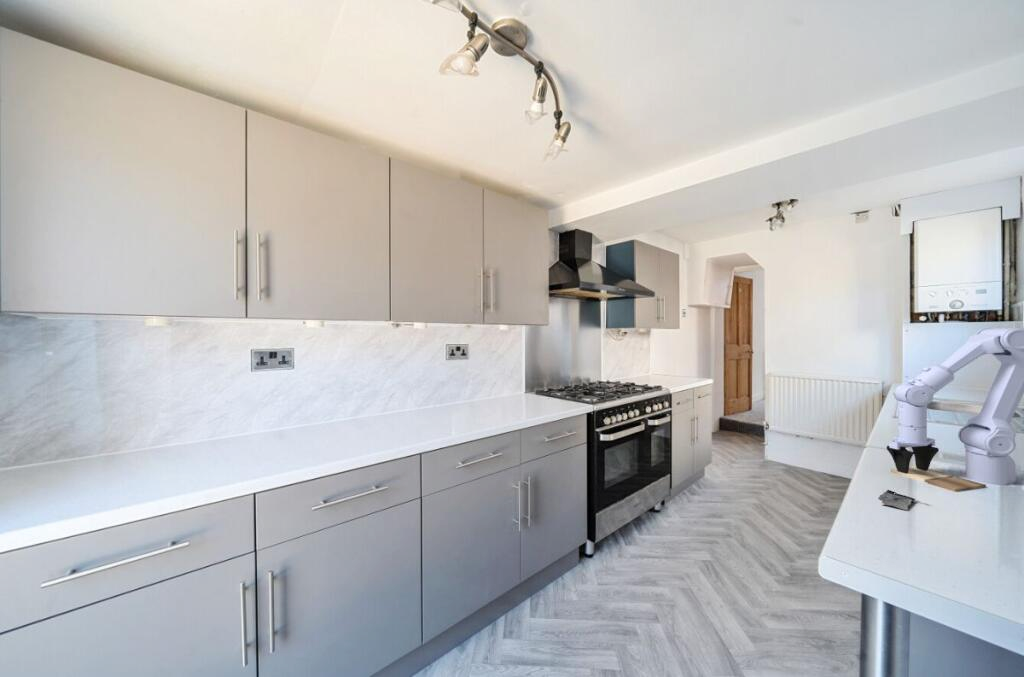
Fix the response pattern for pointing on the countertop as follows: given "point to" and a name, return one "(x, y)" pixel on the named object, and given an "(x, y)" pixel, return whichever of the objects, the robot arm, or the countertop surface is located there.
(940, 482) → the floor row
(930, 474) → the plank
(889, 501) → the driftwood
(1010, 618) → the countertop surface
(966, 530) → the countertop surface
